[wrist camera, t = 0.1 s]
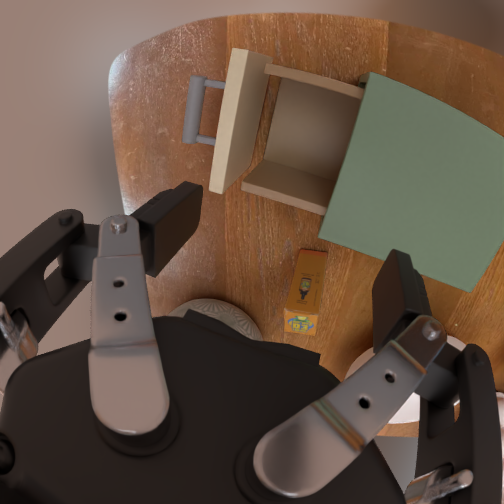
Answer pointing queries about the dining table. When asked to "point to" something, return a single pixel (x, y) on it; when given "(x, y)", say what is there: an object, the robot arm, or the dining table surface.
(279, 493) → the robot arm
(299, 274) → the supplement box
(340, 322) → the dining table surface
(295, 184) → the drawer
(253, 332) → the planter
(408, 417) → the bowl
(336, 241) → the cabinet
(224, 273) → the dining table surface
